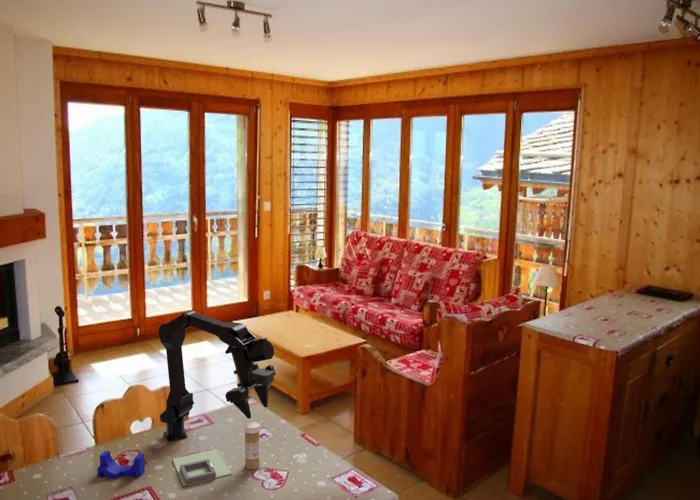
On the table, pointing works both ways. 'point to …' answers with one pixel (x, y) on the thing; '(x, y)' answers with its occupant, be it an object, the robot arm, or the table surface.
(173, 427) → the robot arm
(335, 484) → the table surface
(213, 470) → the board
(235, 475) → the table surface
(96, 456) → the table surface
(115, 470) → the cable clip
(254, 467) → the sprinkles bottle
